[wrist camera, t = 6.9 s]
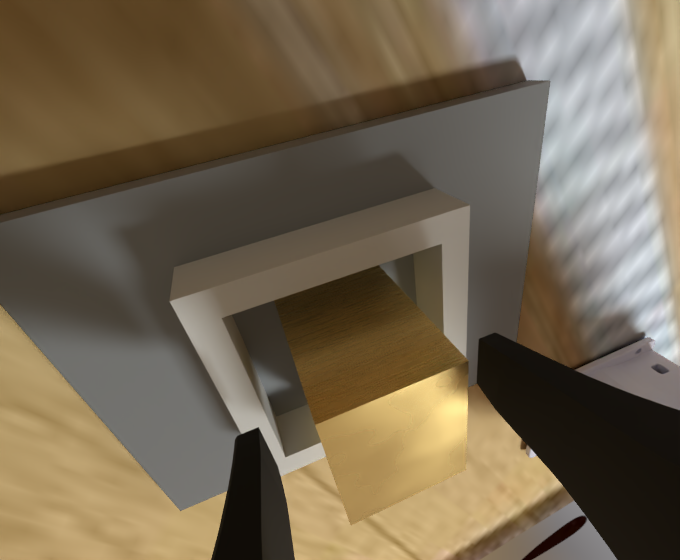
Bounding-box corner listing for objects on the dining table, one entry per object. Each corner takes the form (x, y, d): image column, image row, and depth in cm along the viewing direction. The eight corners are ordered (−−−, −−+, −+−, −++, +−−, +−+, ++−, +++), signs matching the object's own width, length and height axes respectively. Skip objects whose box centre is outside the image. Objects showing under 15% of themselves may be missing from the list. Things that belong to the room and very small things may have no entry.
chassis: (527, 80, 13) (605, 81, 10) (500, 356, 20) (541, 394, 18) (-35, 223, 10) (-118, 275, 7) (181, 489, 17) (178, 559, 15)
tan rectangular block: (377, 263, 13) (468, 361, 9) (390, 358, 16) (465, 469, 11) (273, 299, 13) (314, 425, 8) (306, 392, 15) (350, 525, 11)
